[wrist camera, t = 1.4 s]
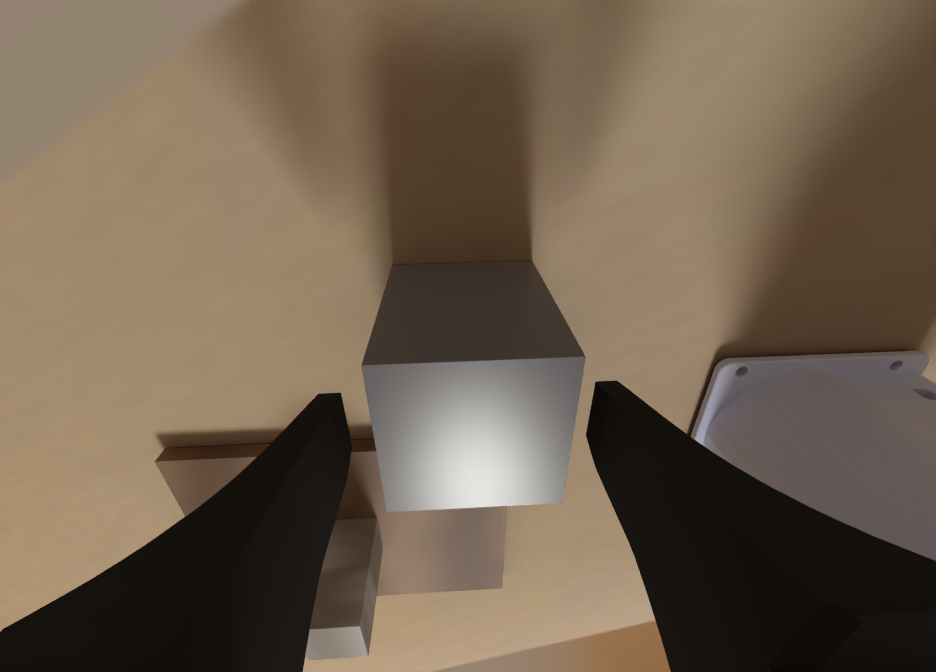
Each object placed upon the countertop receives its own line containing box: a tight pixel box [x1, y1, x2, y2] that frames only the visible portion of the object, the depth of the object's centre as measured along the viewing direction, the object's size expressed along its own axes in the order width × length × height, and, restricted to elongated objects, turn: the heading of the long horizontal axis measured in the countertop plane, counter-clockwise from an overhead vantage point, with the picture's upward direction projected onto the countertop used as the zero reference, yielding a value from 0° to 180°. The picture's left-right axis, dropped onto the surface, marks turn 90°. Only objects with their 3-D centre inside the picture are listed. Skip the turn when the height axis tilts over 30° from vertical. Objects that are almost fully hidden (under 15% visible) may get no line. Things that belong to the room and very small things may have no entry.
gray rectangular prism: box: [361, 261, 585, 512], centre depth 14 cm, size 5×5×7 cm
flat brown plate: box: [155, 439, 507, 660], centre depth 20 cm, size 16×12×6 cm
